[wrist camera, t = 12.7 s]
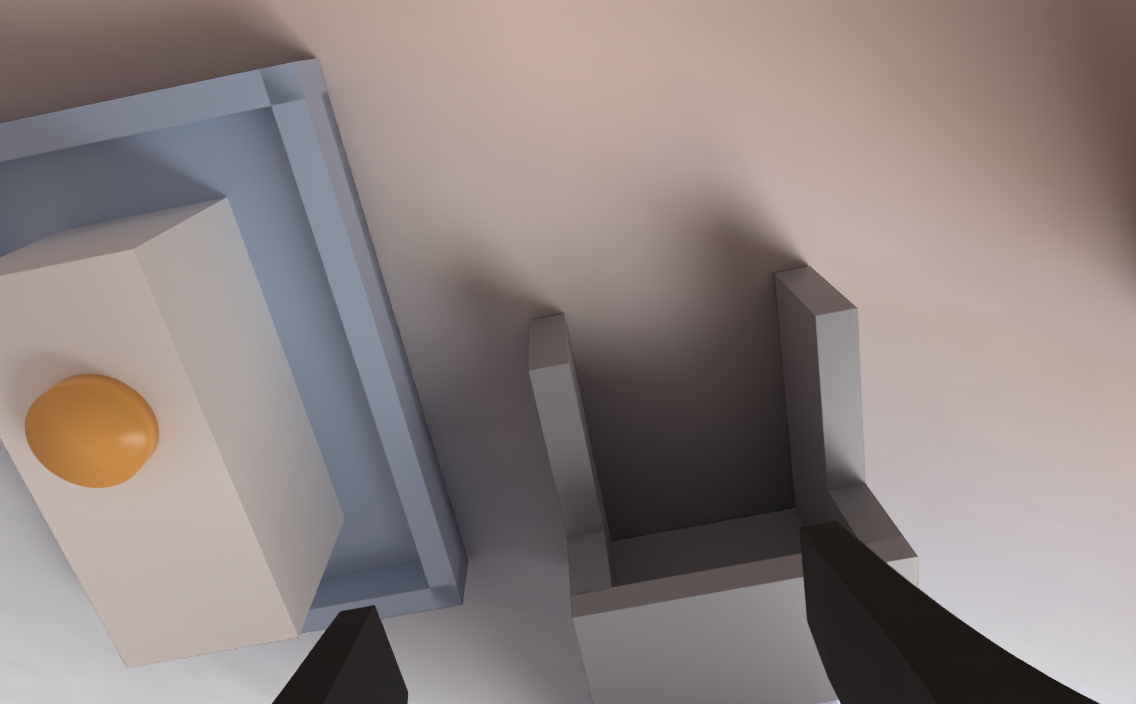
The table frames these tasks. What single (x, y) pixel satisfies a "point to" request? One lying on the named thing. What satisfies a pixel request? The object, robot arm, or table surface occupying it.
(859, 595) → the robot arm
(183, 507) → the white block with knob
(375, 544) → the tray
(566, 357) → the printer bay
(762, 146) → the table surface
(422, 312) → the table surface
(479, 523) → the table surface
